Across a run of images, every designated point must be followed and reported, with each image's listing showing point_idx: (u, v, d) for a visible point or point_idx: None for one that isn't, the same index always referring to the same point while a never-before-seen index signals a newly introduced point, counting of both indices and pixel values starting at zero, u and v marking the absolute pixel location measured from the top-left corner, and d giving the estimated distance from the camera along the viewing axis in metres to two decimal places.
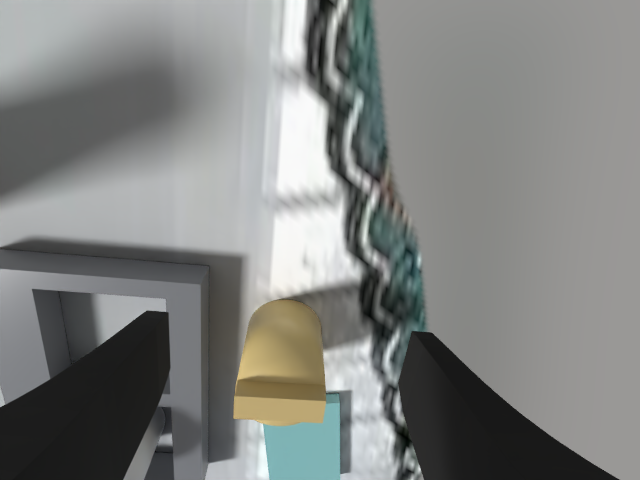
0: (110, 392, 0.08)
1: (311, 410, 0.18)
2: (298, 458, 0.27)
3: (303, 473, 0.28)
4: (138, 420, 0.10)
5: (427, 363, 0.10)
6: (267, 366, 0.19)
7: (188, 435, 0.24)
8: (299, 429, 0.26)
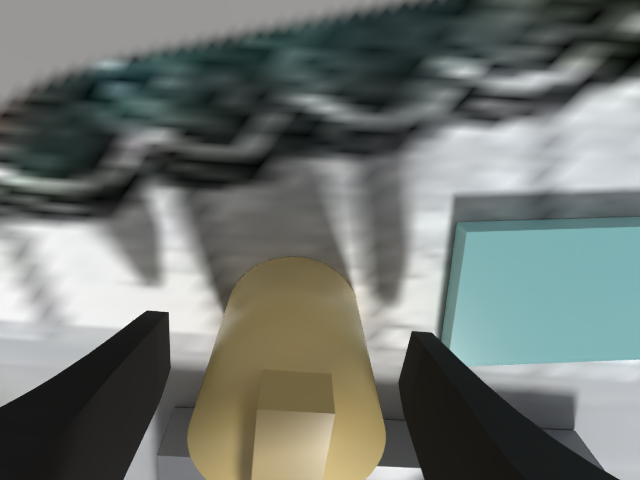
0: (109, 393, 0.08)
1: (288, 436, 0.07)
2: (606, 310, 0.13)
3: None
4: (139, 420, 0.10)
5: (427, 363, 0.10)
6: (213, 463, 0.09)
7: None
8: (522, 307, 0.13)
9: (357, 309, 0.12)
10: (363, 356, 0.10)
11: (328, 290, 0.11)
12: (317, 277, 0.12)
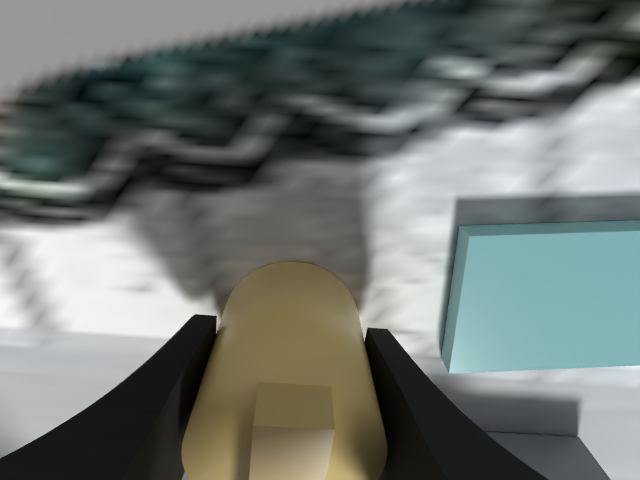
0: (176, 396, 0.08)
1: (286, 452, 0.07)
2: (612, 315, 0.12)
3: None
4: None
5: (377, 359, 0.10)
6: (208, 478, 0.09)
7: None
8: (525, 312, 0.12)
9: (357, 315, 0.12)
10: (364, 366, 0.09)
11: (327, 296, 0.11)
12: (317, 282, 0.11)
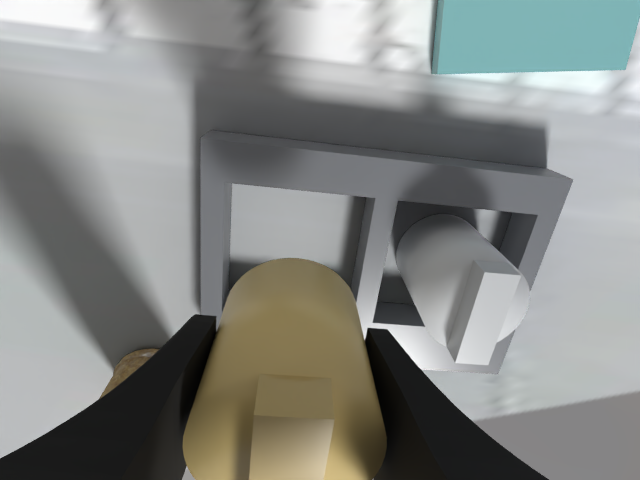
0: (176, 396, 0.08)
1: (286, 442, 0.07)
2: (566, 13, 0.16)
3: (606, 4, 0.16)
4: None
5: (377, 360, 0.10)
6: (209, 471, 0.09)
7: (453, 184, 0.17)
8: (497, 8, 0.15)
9: (357, 311, 0.12)
10: (363, 359, 0.09)
11: (327, 292, 0.11)
12: (316, 278, 0.11)
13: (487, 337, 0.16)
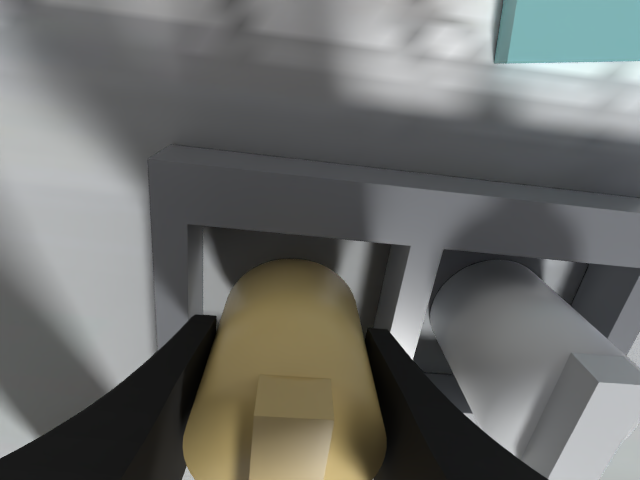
0: (176, 396, 0.08)
1: (286, 443, 0.07)
2: None
3: None
4: None
5: (377, 359, 0.10)
6: (209, 471, 0.09)
7: (525, 226, 0.12)
8: None
9: (357, 312, 0.12)
10: (363, 360, 0.09)
11: (327, 292, 0.11)
12: (316, 279, 0.11)
13: (589, 470, 0.10)
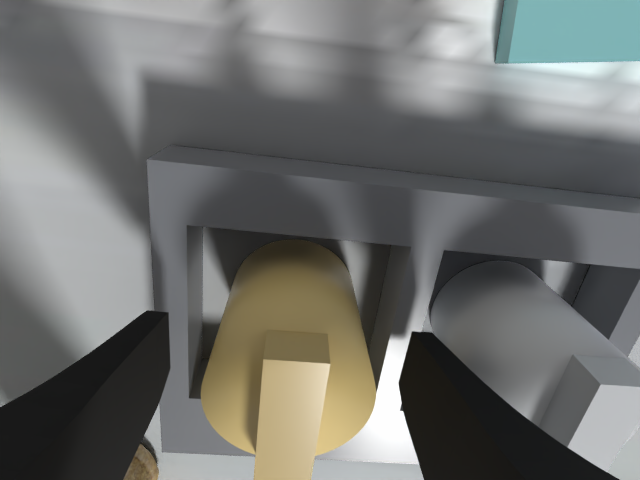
0: (110, 392, 0.08)
1: (290, 384, 0.08)
2: None
3: None
4: (138, 420, 0.10)
5: (427, 363, 0.10)
6: (223, 417, 0.10)
7: (526, 227, 0.12)
8: None
9: (352, 286, 0.13)
10: (356, 324, 0.11)
11: (325, 268, 0.12)
12: (315, 256, 0.13)
13: None
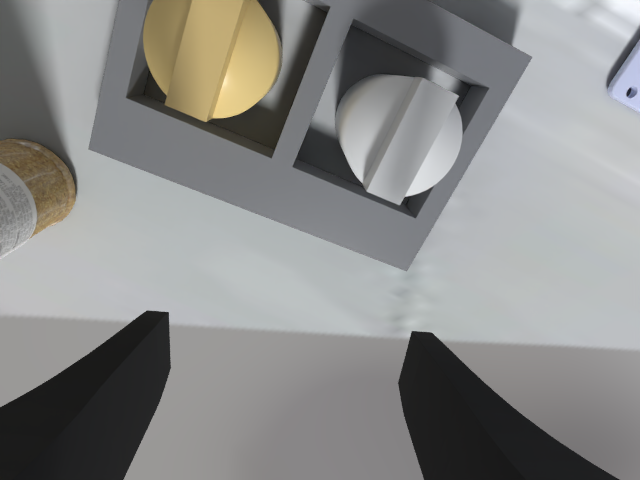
0: (110, 393, 0.08)
1: None
2: None
3: None
4: (139, 420, 0.10)
5: (427, 363, 0.10)
6: (156, 51, 0.13)
7: (414, 19, 0.16)
8: None
9: (280, 47, 0.17)
10: (275, 33, 0.14)
11: None
12: None
13: (407, 167, 0.14)
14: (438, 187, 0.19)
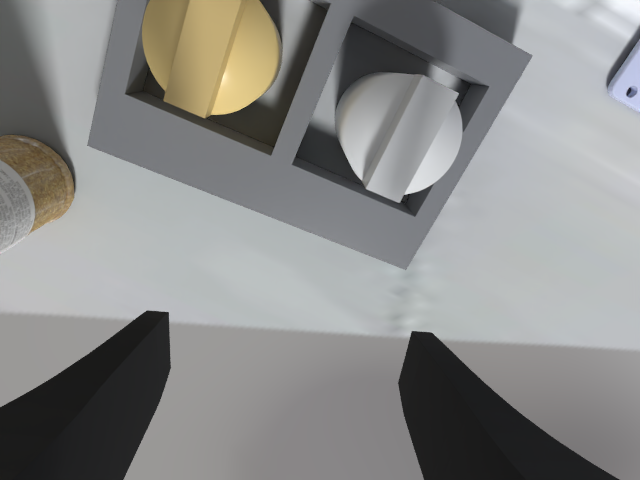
0: (110, 392, 0.08)
1: None
2: None
3: None
4: (138, 421, 0.10)
5: (427, 363, 0.10)
6: (155, 47, 0.13)
7: (415, 16, 0.16)
8: None
9: (280, 44, 0.17)
10: (274, 29, 0.14)
11: None
12: None
13: (406, 165, 0.14)
14: (438, 185, 0.19)
